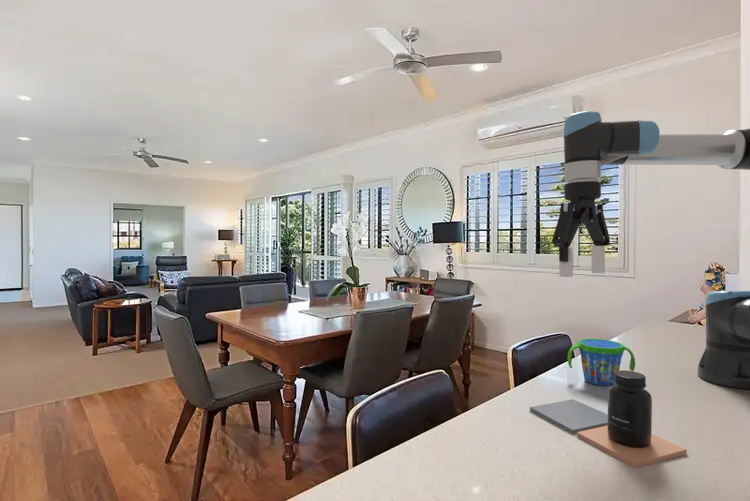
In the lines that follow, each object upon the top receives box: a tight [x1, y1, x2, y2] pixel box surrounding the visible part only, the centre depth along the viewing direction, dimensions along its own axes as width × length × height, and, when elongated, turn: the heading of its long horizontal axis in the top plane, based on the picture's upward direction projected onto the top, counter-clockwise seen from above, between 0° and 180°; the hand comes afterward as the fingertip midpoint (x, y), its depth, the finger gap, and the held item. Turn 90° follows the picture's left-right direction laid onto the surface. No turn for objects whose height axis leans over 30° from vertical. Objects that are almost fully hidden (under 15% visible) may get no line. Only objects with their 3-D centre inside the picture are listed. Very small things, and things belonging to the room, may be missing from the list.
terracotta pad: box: [576, 426, 688, 469], centre depth 77 cm, size 12×12×1 cm
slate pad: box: [529, 398, 608, 435], centre depth 89 cm, size 12×12×1 cm
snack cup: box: [567, 338, 636, 387], centre depth 110 cm, size 16×10×10 cm
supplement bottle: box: [607, 369, 653, 448], centre depth 77 cm, size 7×7×12 cm
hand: (582, 275), depth 98 cm, fingers open, 13 cm apart
